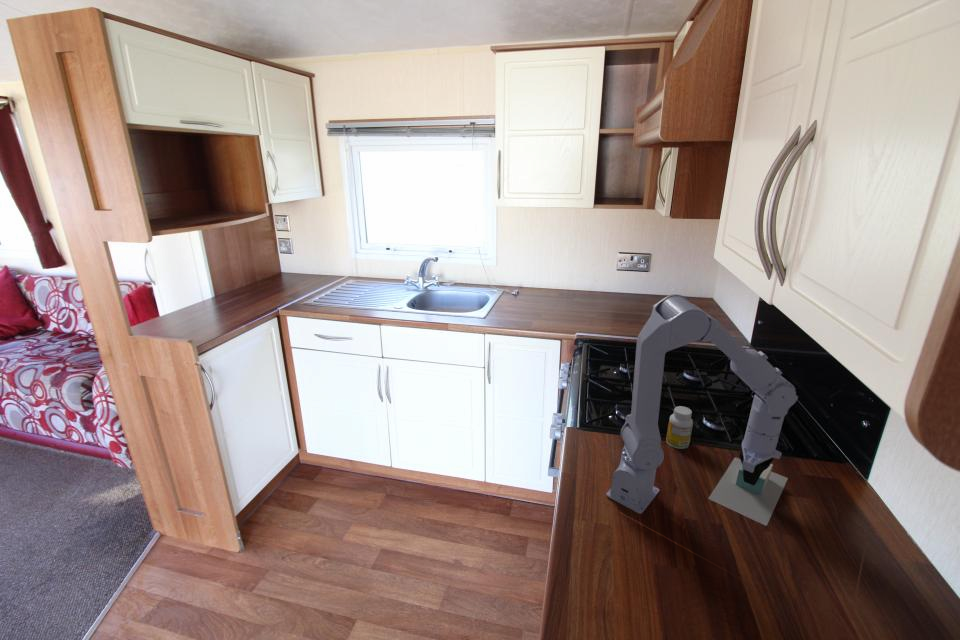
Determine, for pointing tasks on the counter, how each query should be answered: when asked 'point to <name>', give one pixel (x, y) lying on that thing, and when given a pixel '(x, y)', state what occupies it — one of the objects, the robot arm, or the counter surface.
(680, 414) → the supplement bottle
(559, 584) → the counter surface
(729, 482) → the grey mat
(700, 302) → the counter surface
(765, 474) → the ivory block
